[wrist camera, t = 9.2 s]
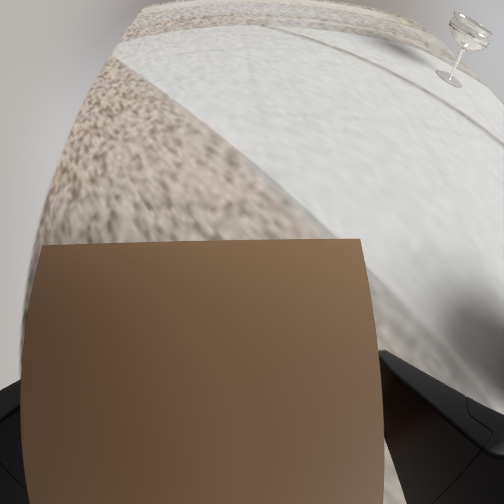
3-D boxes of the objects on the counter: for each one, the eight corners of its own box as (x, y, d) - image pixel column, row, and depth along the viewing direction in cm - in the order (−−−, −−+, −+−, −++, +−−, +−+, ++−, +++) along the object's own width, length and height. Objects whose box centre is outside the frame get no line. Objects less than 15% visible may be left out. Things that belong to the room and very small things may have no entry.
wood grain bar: (283, 439, 14) (429, 580, 1) (191, 439, 14) (7, 554, 1) (279, 353, 16) (401, 184, 3) (190, 354, 16) (20, 198, 3)
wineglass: (431, 76, 33) (455, 14, 23) (430, 62, 36) (451, 7, 25) (468, 96, 32) (496, 38, 21) (464, 80, 35) (487, 28, 24)
